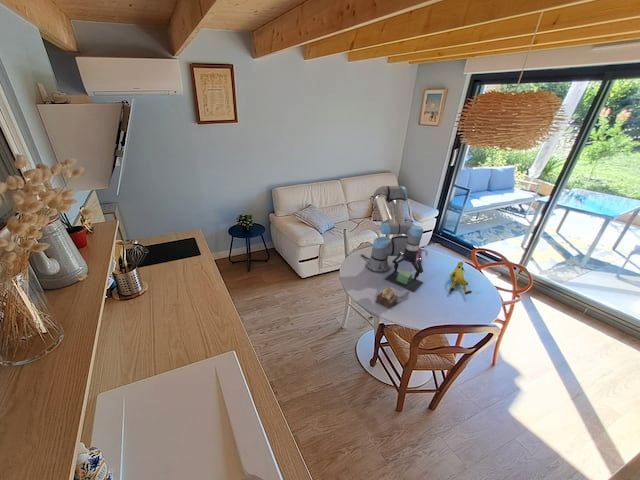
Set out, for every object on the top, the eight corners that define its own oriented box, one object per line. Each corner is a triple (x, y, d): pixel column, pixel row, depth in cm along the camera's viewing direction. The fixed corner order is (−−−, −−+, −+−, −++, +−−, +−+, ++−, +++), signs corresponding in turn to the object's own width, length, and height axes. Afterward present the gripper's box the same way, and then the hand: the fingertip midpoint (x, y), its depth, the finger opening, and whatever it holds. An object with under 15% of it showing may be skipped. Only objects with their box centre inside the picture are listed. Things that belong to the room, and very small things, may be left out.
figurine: (464, 282, 177) (462, 256, 199) (446, 288, 184) (446, 262, 206) (474, 295, 179) (471, 267, 200) (456, 300, 186) (455, 273, 208)
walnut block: (376, 301, 178) (377, 296, 176) (383, 295, 183) (384, 290, 181) (389, 308, 172) (390, 302, 170) (396, 301, 178) (397, 296, 176)
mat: (385, 279, 198) (385, 278, 198) (394, 271, 207) (394, 270, 207) (413, 291, 186) (413, 290, 186) (422, 282, 195) (422, 282, 194)
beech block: (381, 296, 176) (382, 290, 173) (385, 292, 179) (386, 287, 176) (389, 300, 173) (390, 294, 170) (393, 296, 176) (394, 290, 173)
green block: (396, 280, 196) (398, 273, 193) (401, 276, 200) (402, 269, 197) (406, 284, 192) (408, 277, 189) (410, 280, 196) (412, 273, 193)
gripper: (390, 244, 189) (385, 271, 200) (429, 257, 174) (421, 285, 184) (395, 241, 194) (390, 267, 204) (433, 253, 178) (425, 281, 189)
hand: (404, 276), depth 194 cm, fingers open, 13 cm apart
